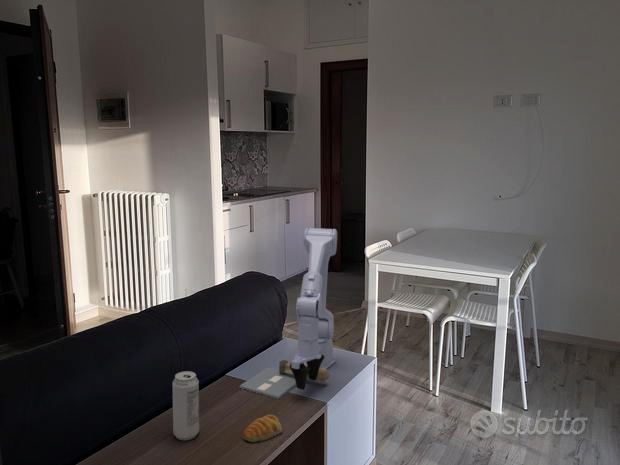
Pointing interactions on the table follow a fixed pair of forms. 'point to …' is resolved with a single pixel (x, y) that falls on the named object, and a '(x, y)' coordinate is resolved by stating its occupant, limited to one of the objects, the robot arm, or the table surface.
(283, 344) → the table surface
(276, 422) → the pastry
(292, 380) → the label board
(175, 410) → the energy drink can
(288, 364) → the bar
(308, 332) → the robot arm
